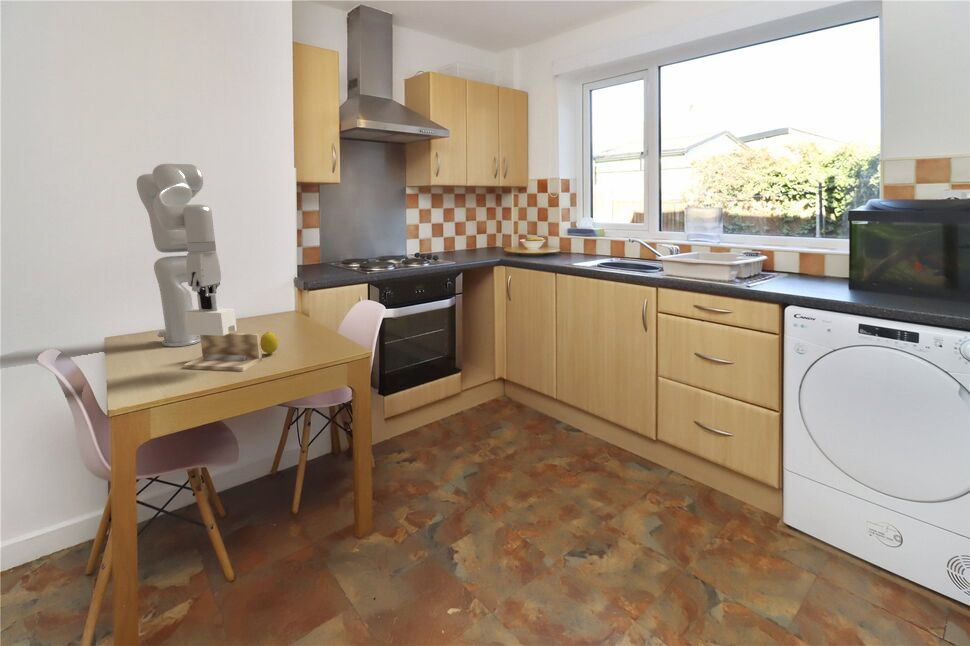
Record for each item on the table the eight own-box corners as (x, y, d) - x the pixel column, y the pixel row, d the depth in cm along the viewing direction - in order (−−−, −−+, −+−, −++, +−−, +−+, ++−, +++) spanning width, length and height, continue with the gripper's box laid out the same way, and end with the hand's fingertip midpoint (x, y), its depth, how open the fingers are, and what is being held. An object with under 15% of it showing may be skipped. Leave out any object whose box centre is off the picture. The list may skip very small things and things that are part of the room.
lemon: (272, 351, 189) (270, 329, 187) (282, 353, 186) (280, 331, 184) (258, 355, 185) (255, 332, 183) (268, 357, 182) (265, 334, 180)
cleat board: (183, 368, 171) (180, 340, 169) (205, 358, 181) (202, 332, 179) (243, 371, 168) (240, 342, 166) (262, 360, 179) (259, 334, 177)
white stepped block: (186, 334, 165) (181, 295, 163) (201, 329, 172) (197, 291, 169) (223, 335, 164) (218, 296, 161) (236, 330, 171) (232, 292, 168)
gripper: (206, 245, 170) (213, 303, 174) (172, 250, 155) (180, 313, 159) (229, 245, 169) (235, 303, 173) (196, 250, 154) (204, 313, 158)
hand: (209, 307), depth 166 cm, fingers closed on white stepped block, 1 cm apart
